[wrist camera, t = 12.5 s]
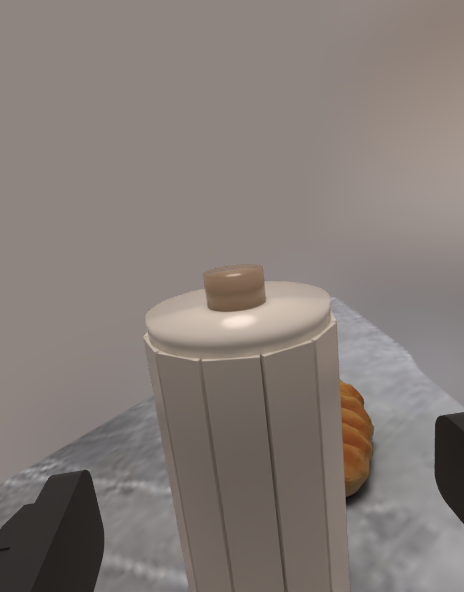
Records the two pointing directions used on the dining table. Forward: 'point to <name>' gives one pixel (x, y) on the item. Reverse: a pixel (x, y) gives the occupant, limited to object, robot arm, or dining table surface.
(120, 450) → the dining table surface
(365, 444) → the pastry
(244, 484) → the ribbed lidded canister
